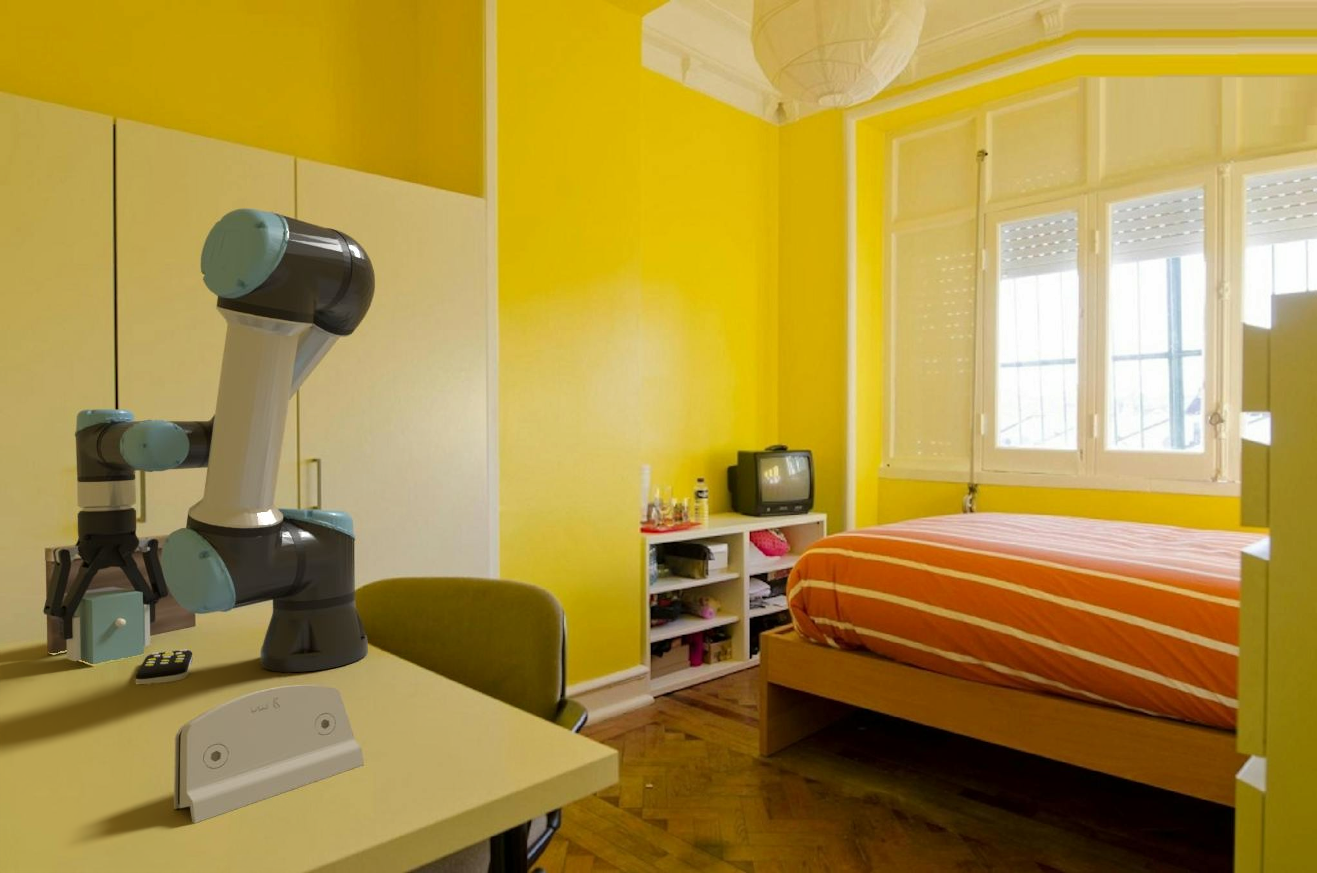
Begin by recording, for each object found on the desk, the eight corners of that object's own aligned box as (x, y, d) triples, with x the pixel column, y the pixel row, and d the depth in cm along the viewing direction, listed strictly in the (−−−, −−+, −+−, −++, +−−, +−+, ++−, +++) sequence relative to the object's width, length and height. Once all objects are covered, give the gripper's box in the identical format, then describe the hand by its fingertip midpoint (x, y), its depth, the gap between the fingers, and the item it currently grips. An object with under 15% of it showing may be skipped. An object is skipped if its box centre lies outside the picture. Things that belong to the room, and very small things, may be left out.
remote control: (133, 689, 109) (133, 674, 109) (146, 665, 120) (146, 652, 120) (185, 682, 112) (185, 668, 112) (193, 659, 123) (193, 647, 123)
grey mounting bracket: (190, 825, 70) (175, 710, 72) (173, 827, 72) (159, 716, 75) (367, 763, 82) (350, 667, 84) (347, 767, 85) (330, 674, 87)
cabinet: (146, 656, 124) (145, 593, 124) (96, 667, 118) (95, 601, 118) (113, 646, 130) (112, 586, 130) (63, 657, 124) (62, 594, 124)
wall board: (196, 626, 144) (194, 532, 144) (53, 655, 125) (51, 548, 125) (189, 624, 145) (187, 532, 145) (46, 653, 126) (44, 547, 126)
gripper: (168, 501, 134) (170, 633, 134) (12, 513, 116) (15, 666, 116) (191, 503, 130) (194, 638, 130) (33, 515, 112) (36, 673, 112)
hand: (109, 651), depth 123 cm, fingers open, 9 cm apart
